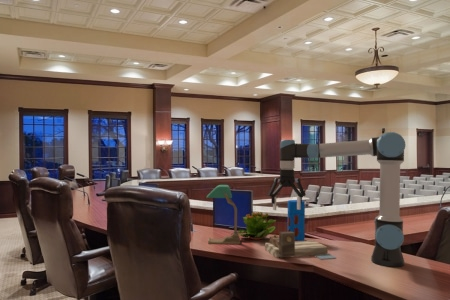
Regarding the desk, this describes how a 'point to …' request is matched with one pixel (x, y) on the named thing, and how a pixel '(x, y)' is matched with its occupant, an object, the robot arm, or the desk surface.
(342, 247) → the desk surface
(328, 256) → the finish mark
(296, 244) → the log raft
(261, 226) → the potted flower
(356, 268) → the desk surface
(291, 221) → the blue slotted block
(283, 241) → the marking gauge
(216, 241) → the banker's lamp
